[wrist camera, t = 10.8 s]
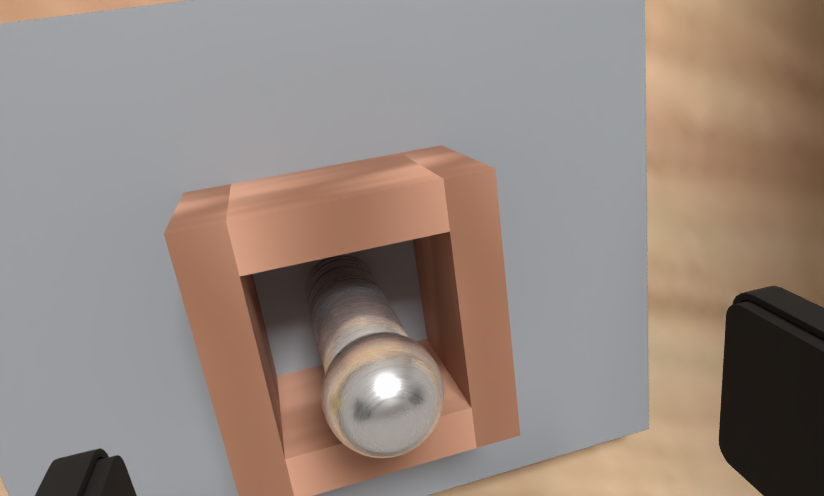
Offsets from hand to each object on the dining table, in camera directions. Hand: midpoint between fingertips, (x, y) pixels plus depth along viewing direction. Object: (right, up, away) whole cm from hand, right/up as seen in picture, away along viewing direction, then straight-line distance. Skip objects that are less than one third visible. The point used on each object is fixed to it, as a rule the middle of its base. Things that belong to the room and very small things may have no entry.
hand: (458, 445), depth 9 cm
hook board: (-3, +2, +10) cm, 10 cm away
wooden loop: (-3, +2, +8) cm, 9 cm away
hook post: (-3, +2, +8) cm, 9 cm away
